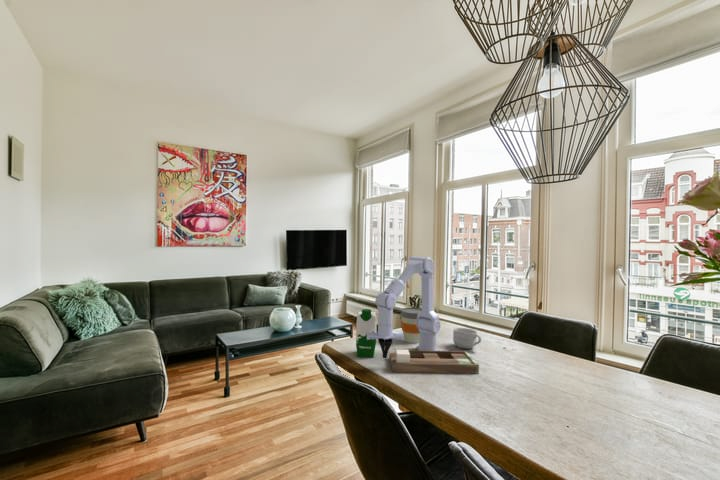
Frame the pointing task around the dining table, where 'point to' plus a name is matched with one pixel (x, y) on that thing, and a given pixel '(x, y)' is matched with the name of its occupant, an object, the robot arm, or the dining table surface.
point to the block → (402, 356)
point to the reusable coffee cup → (410, 324)
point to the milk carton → (365, 333)
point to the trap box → (436, 362)
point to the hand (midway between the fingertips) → (384, 357)
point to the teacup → (465, 337)
